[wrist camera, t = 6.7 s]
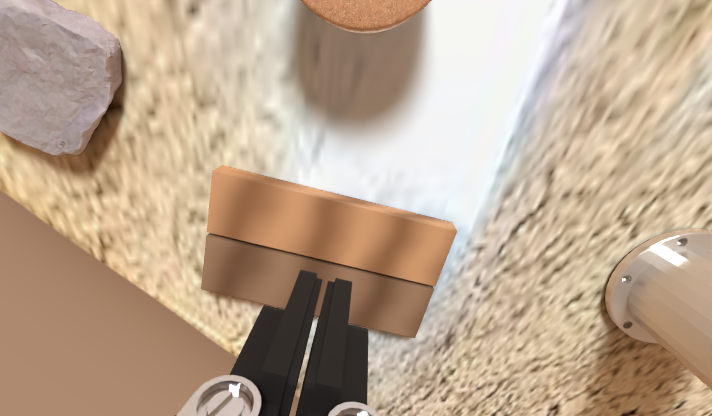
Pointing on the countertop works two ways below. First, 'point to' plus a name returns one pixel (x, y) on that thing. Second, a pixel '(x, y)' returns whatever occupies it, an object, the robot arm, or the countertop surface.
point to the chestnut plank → (328, 226)
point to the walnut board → (281, 268)
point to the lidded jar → (365, 13)
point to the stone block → (54, 75)
